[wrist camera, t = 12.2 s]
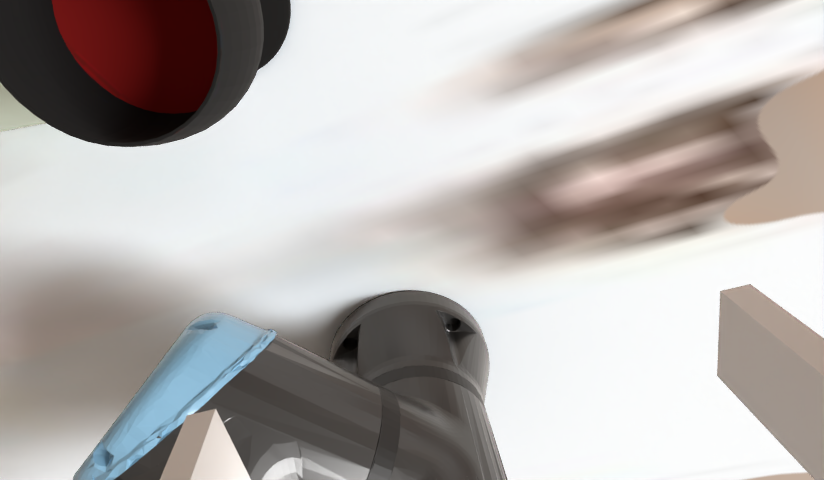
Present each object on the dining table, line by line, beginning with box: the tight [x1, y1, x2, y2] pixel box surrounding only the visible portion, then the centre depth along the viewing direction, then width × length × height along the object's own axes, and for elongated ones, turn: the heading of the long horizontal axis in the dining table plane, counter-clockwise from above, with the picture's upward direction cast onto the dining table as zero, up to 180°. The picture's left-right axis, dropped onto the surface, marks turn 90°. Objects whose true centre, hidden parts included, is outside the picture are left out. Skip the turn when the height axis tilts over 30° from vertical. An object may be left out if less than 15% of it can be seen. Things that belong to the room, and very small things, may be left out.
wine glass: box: [0, 0, 291, 147], centre depth 28 cm, size 10×10×20 cm
